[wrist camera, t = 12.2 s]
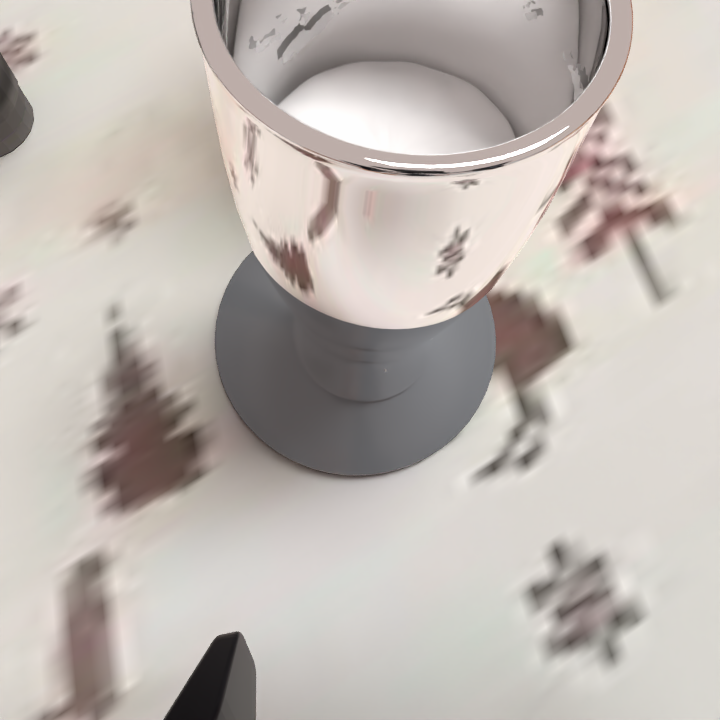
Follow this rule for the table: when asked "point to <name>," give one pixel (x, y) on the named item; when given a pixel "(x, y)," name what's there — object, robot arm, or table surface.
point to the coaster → (334, 414)
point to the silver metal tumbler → (398, 156)
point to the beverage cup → (12, 111)
